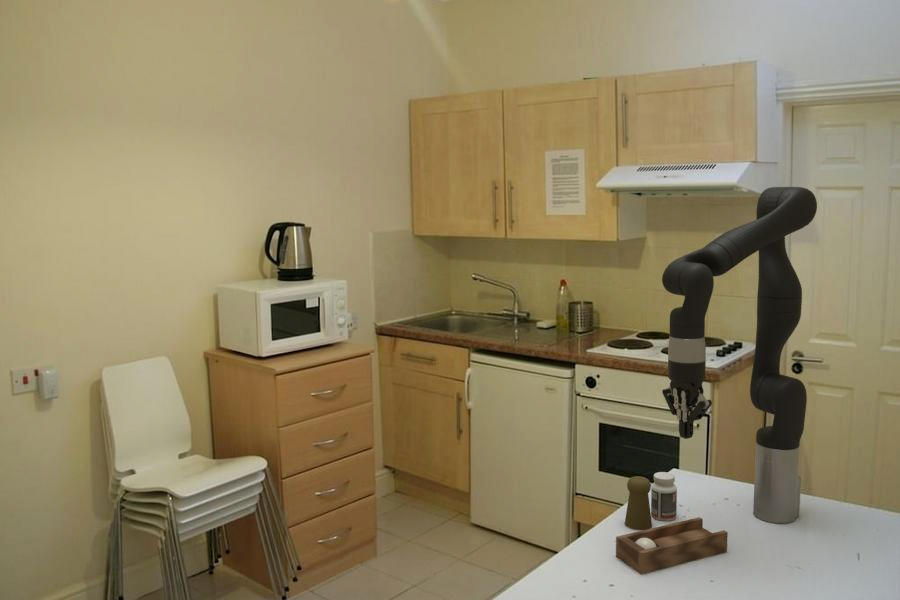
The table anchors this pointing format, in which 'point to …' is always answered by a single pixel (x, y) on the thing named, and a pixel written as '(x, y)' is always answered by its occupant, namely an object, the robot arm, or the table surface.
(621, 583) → the table surface
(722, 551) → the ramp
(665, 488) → the pill bottle
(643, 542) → the ball
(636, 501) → the pepper mill
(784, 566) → the table surface
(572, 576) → the table surface
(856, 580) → the table surface
